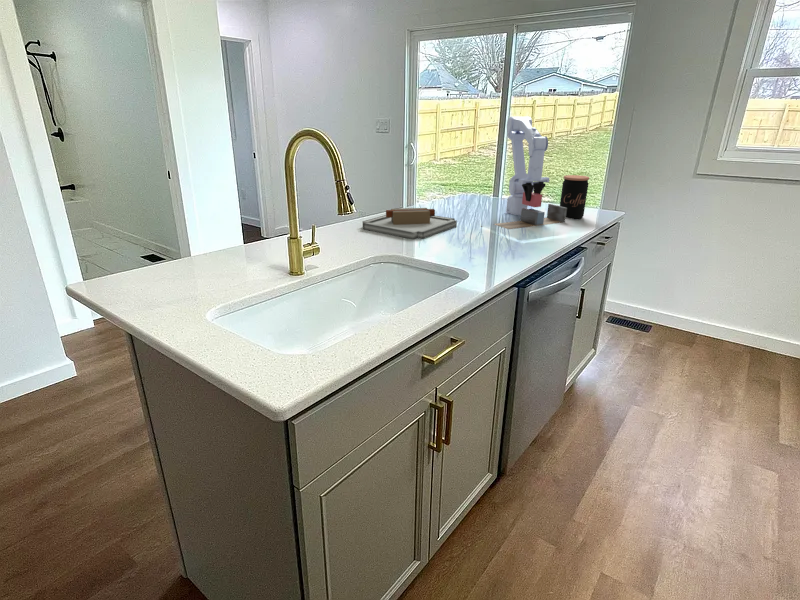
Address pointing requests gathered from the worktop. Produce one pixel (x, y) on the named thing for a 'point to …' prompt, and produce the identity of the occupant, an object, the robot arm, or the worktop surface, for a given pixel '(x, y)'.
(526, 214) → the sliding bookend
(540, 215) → the slate book
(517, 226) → the book shelf
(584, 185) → the coffee jar
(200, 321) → the worktop surface
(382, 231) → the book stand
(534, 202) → the red rectangular block
